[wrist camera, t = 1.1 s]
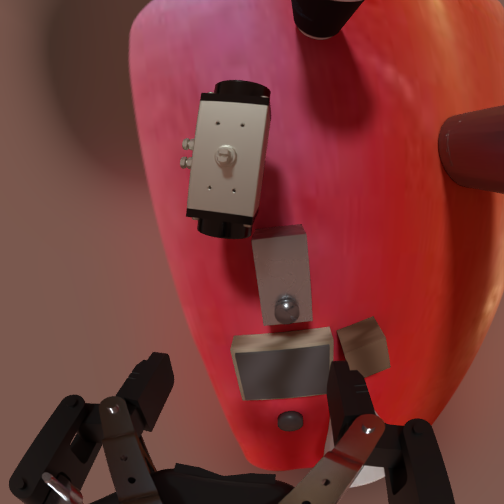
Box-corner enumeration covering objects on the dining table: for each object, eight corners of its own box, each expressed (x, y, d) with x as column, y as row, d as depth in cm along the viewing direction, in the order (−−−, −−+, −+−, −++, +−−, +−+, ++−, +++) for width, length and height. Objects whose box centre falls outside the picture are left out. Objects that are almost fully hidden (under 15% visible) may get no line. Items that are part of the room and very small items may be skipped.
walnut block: (373, 315, 32) (385, 337, 27) (379, 344, 33) (390, 367, 28) (336, 330, 33) (344, 353, 28) (345, 357, 34) (352, 382, 29)
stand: (329, 326, 32) (334, 342, 29) (329, 378, 35) (332, 395, 31) (233, 335, 34) (229, 351, 31) (244, 385, 36) (242, 402, 33)
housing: (255, 229, 30) (250, 242, 24) (301, 223, 29) (307, 236, 24) (265, 303, 32) (263, 330, 27) (307, 299, 32) (313, 325, 26)
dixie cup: (269, 31, 23) (265, -25, 13) (301, -8, 21) (307, -63, 10) (333, 62, 24) (358, 14, 13) (360, 21, 21) (388, -27, 11)
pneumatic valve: (273, 112, 26) (272, 73, 15) (259, 219, 29) (247, 250, 18) (221, 107, 26) (188, 69, 15) (208, 212, 30) (167, 238, 18)
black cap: (302, 409, 37) (302, 416, 36) (302, 423, 38) (303, 430, 37) (276, 411, 38) (276, 417, 36) (278, 425, 39) (278, 432, 37)
